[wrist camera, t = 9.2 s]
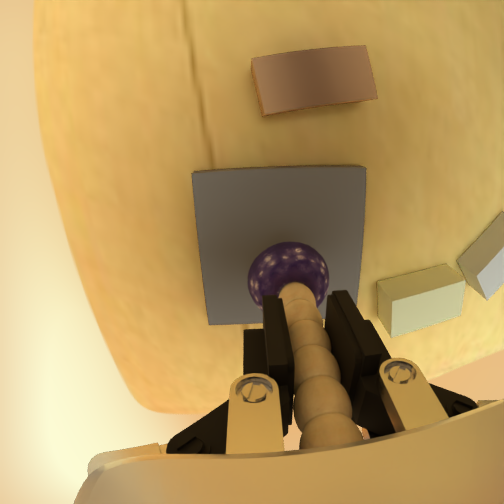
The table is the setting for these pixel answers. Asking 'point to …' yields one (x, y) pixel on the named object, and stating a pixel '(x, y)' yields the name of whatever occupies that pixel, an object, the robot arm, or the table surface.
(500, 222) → the brick
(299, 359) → the toy lamp
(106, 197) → the table surface
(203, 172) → the pad
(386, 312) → the brick
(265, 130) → the table surface
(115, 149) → the table surface
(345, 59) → the brick
